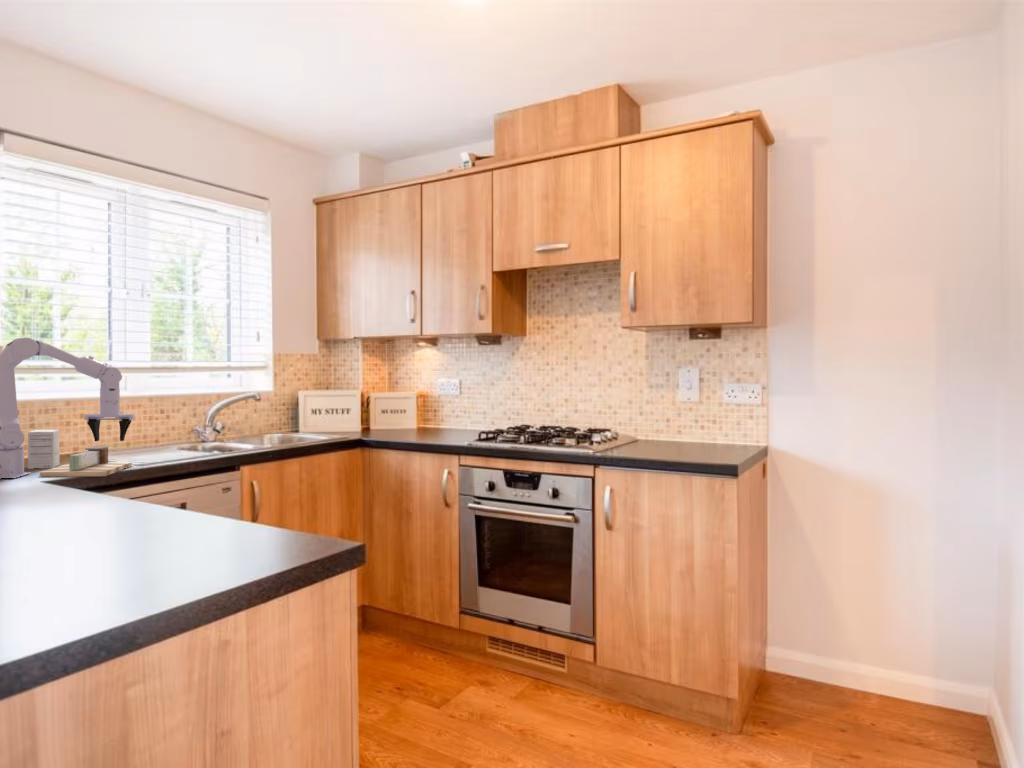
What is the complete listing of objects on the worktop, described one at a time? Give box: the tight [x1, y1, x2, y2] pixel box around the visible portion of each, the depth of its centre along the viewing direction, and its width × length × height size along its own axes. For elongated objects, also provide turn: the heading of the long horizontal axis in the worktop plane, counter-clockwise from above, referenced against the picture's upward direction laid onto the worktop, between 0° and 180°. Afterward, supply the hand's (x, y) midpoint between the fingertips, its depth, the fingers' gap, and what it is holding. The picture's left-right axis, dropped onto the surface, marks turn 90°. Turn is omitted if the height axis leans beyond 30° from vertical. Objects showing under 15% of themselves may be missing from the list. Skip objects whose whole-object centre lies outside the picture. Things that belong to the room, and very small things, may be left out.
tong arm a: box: [74, 450, 100, 470], centre depth 208 cm, size 14×1×5 cm, turn 9°
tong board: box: [39, 446, 133, 477], centre depth 209 cm, size 20×19×7 cm
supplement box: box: [27, 429, 60, 470], centre depth 216 cm, size 7×7×13 cm
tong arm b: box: [68, 450, 95, 470], centre depth 208 cm, size 14×1×5 cm, turn 10°
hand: (109, 440), depth 216 cm, fingers open, 7 cm apart
